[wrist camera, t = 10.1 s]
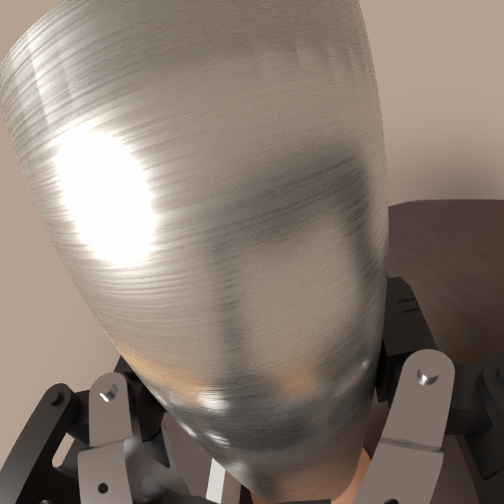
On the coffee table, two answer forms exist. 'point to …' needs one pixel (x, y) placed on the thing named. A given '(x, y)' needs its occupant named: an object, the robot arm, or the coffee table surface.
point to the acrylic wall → (222, 486)
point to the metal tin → (220, 214)
